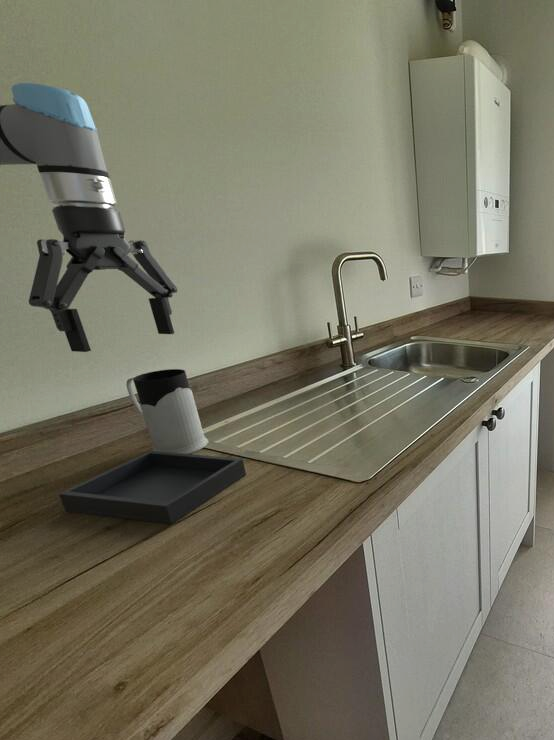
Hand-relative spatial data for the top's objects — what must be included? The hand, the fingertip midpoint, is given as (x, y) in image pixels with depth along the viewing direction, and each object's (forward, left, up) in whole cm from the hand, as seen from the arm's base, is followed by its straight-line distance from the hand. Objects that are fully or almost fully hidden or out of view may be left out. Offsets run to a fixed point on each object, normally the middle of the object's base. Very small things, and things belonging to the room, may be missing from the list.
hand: (127, 341), depth 70 cm
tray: (+11, -10, -22) cm, 27 cm away
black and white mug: (-3, +4, -22) cm, 23 cm away
